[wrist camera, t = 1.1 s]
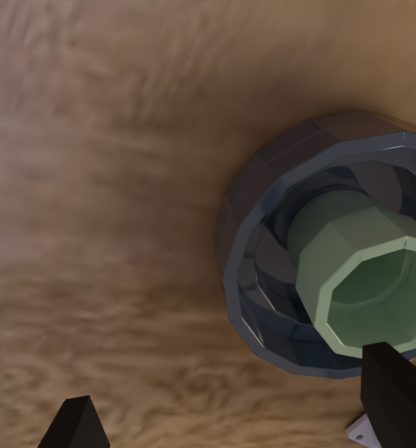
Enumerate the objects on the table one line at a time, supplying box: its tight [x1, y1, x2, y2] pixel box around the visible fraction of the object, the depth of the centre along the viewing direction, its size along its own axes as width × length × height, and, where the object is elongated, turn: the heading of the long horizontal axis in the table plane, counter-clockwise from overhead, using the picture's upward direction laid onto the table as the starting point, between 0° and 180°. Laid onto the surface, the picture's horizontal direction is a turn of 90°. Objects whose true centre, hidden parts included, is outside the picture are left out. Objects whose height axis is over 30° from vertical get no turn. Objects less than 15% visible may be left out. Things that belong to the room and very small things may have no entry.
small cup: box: [287, 190, 416, 358], centre depth 18 cm, size 6×6×6 cm
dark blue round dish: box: [213, 110, 416, 379], centre depth 19 cm, size 12×12×4 cm
